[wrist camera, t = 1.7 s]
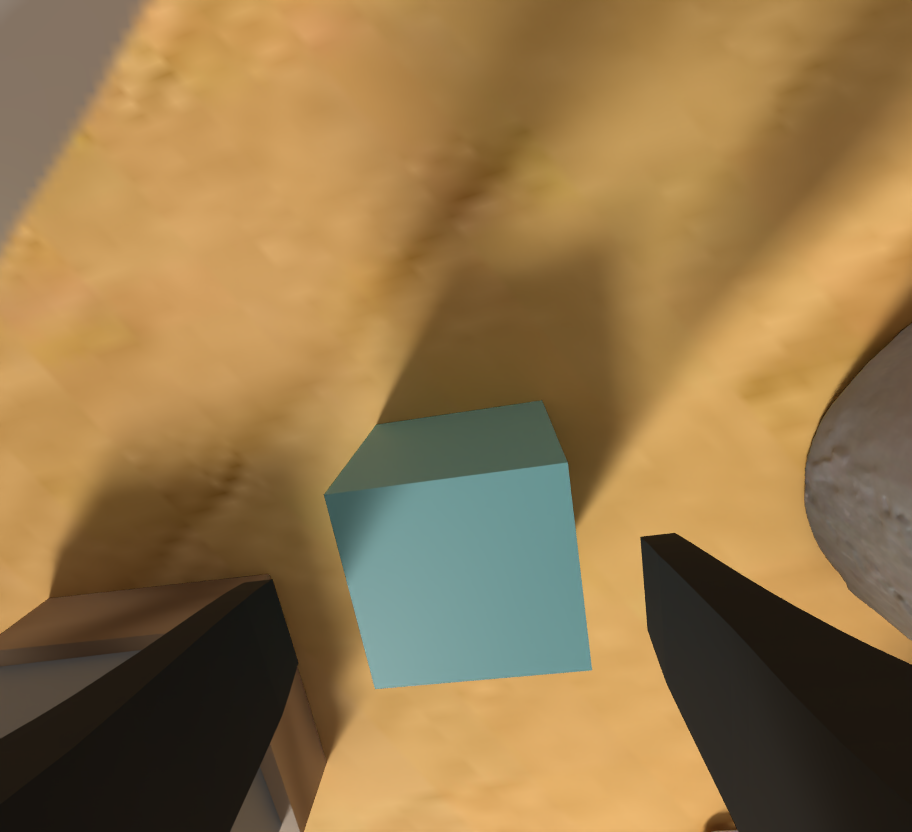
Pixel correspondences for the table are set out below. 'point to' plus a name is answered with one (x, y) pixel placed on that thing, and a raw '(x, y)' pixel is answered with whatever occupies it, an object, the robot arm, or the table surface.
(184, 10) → the table surface
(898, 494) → the pillar candle
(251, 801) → the grey block
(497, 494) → the teal cube
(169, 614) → the walnut slab
